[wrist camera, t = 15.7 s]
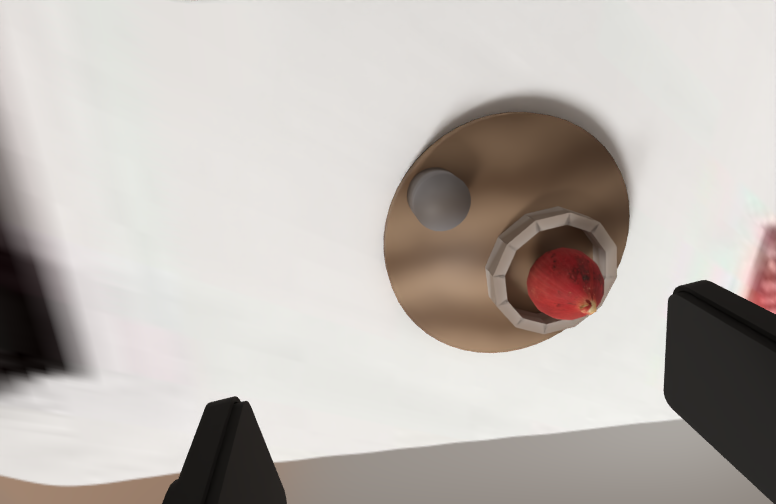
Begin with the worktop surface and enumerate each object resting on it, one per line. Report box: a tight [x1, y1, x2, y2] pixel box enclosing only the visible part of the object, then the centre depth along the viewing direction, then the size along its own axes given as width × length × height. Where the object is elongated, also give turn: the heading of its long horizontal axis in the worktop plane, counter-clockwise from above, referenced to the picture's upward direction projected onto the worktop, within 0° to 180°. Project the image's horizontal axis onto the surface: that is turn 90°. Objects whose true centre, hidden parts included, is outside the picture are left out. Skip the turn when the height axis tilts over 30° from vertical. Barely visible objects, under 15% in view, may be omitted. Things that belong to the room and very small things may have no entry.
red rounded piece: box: [527, 247, 604, 320], centre depth 36 cm, size 6×6×8 cm
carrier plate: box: [384, 112, 630, 353], centre depth 38 cm, size 22×22×4 cm
